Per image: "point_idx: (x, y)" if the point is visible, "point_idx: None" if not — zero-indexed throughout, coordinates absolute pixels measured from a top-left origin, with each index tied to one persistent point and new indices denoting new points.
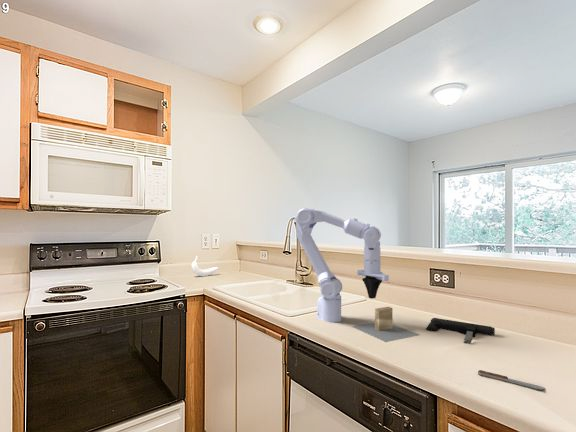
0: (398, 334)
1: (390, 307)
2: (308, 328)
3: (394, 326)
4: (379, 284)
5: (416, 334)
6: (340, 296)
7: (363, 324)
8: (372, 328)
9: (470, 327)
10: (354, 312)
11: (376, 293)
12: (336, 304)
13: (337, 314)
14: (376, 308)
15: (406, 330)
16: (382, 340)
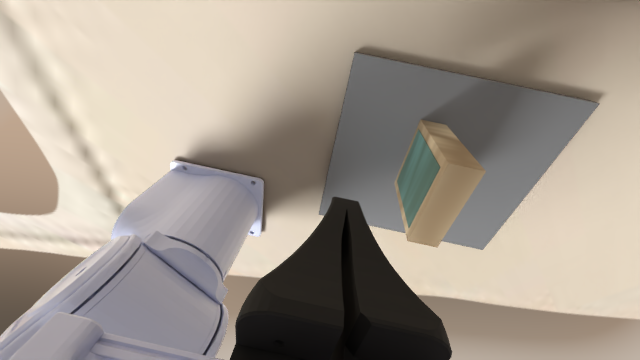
0: (498, 170)
1: (469, 169)
2: (254, 273)
3: (442, 92)
4: (406, 293)
5: (577, 114)
6: (191, 256)
7: (330, 170)
8: (383, 183)
9: None
10: (132, 14)
11: (365, 222)
12: (231, 262)
13: (247, 228)
14: (412, 235)
15: (516, 100)
16: (469, 246)
